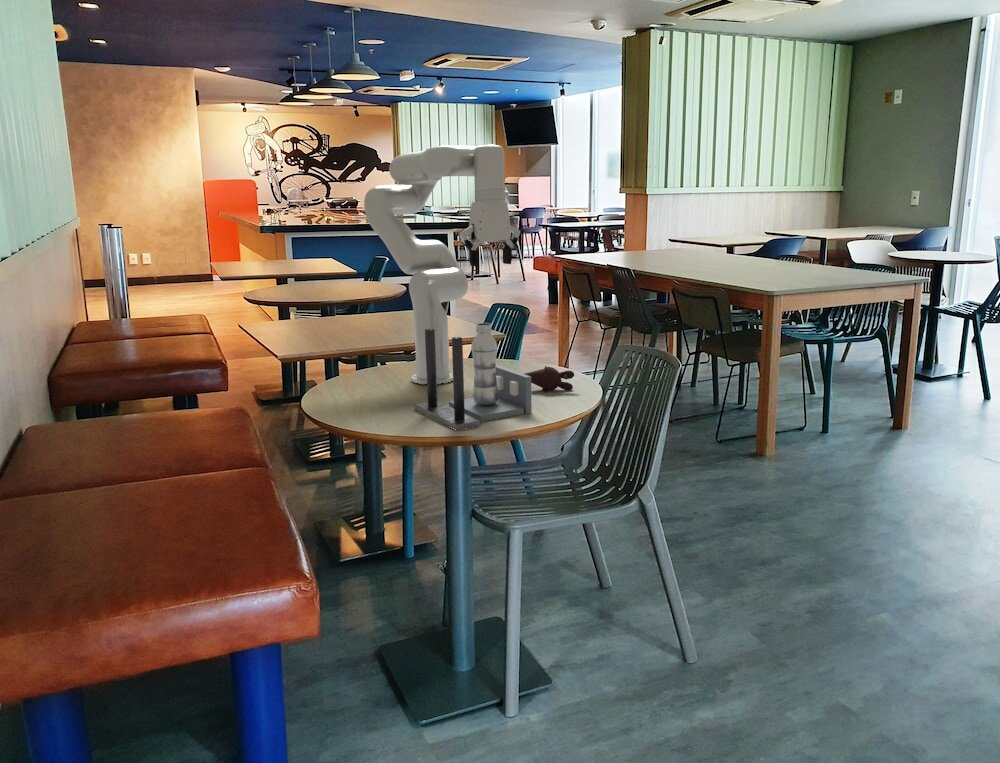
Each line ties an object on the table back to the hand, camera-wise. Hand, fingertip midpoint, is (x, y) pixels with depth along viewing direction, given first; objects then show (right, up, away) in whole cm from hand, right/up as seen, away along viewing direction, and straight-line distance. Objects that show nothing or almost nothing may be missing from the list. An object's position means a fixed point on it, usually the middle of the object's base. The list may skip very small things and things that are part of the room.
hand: (490, 264), depth 204 cm
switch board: (0, -37, -7) cm, 38 cm away
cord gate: (-11, -39, -13) cm, 42 cm away
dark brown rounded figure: (+15, -32, +11) cm, 37 cm away
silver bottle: (-1, -36, -8) cm, 37 cm away
